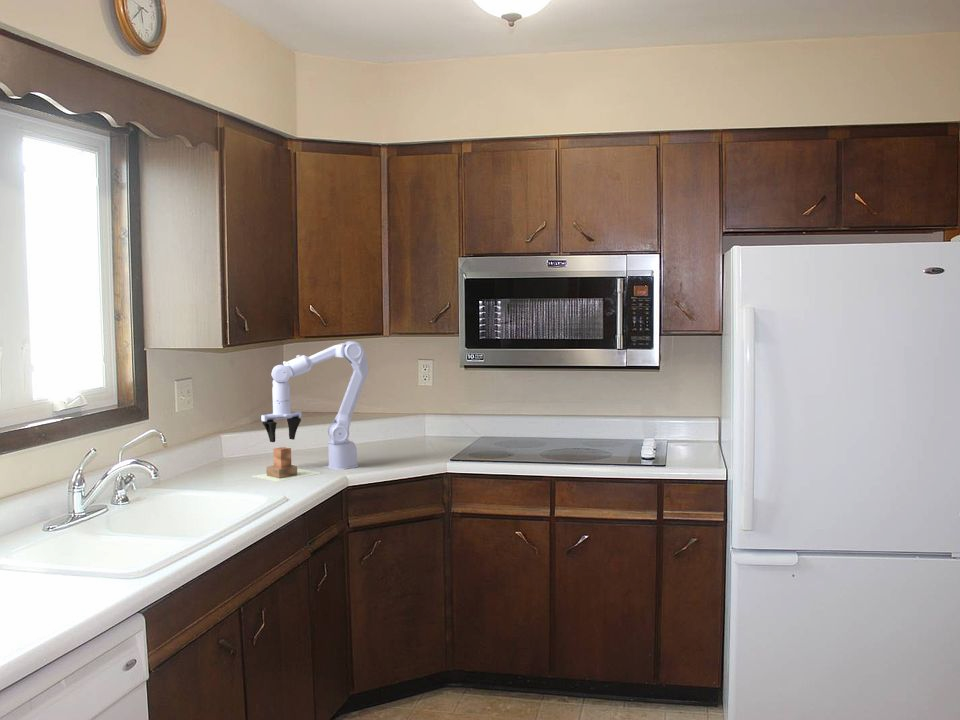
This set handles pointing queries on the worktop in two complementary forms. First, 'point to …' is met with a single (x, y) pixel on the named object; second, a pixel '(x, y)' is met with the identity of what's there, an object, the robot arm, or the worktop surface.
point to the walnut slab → (281, 471)
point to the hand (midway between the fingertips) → (282, 440)
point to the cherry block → (282, 457)
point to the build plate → (299, 474)
